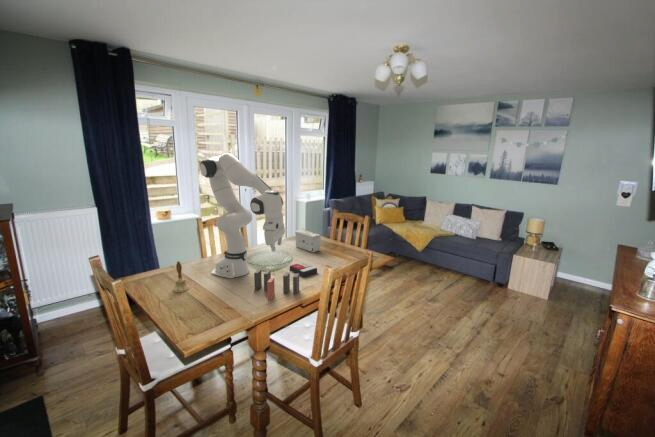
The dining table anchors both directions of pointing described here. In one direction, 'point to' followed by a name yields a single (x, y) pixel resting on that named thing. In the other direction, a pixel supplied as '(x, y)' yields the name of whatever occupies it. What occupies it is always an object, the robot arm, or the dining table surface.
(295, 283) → the domino
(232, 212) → the robot arm
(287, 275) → the domino
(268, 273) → the domino
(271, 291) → the domino
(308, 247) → the stereo radio cassette player
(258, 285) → the domino
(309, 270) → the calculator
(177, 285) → the hand bell
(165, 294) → the dining table surface
